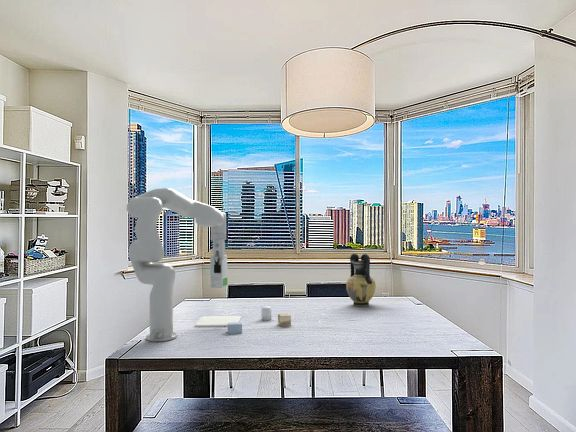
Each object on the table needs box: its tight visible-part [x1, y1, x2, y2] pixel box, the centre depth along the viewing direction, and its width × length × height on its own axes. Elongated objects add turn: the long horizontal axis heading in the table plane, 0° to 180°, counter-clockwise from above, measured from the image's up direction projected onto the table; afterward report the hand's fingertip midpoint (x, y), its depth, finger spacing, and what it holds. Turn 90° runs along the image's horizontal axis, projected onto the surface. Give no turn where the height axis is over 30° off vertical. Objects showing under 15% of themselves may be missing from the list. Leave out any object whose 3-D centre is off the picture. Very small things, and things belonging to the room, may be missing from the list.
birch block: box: [277, 312, 292, 327], centre depth 210 cm, size 5×5×5 cm
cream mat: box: [194, 315, 242, 328], centre depth 217 cm, size 20×20×1 cm
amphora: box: [345, 253, 376, 307], centre depth 259 cm, size 18×17×30 cm
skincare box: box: [209, 254, 228, 289], centre depth 218 cm, size 8×7×16 cm
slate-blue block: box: [227, 321, 243, 334], centre depth 196 cm, size 4×6×4 cm, turn 101°
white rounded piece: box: [260, 305, 272, 321], centre depth 223 cm, size 5×5×6 cm
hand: (218, 271), depth 218 cm, fingers closed on skincare box, 9 cm apart
